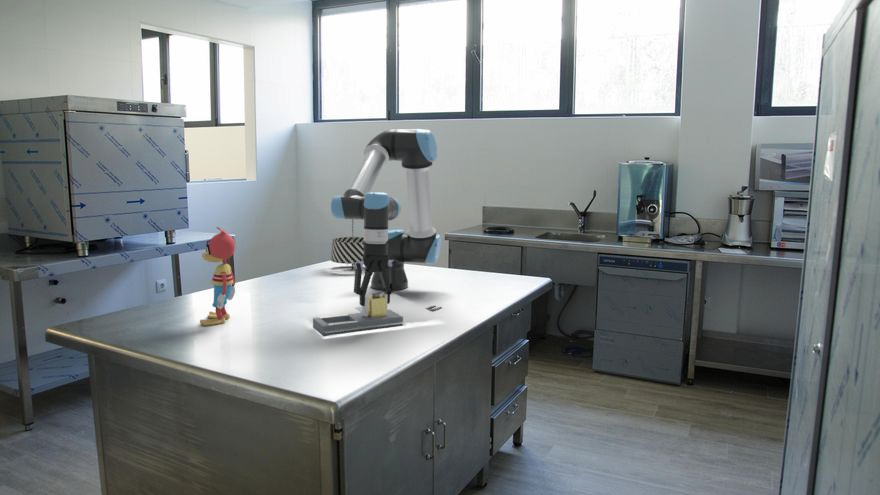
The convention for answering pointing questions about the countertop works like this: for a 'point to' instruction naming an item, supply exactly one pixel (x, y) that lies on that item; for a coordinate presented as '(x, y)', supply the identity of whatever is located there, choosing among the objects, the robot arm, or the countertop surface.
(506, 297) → the countertop surface
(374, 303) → the block
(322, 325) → the rail board
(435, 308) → the pliers
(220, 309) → the toy
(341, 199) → the robot arm
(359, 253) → the pendant light
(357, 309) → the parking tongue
